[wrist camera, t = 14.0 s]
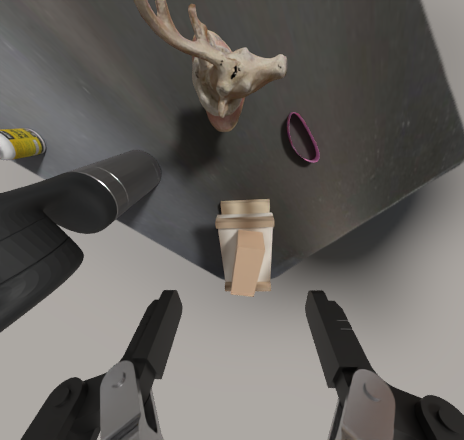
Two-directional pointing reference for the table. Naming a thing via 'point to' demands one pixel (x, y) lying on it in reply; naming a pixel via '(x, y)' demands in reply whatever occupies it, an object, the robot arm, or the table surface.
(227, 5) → the table surface
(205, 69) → the decorative bust
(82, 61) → the table surface
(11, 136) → the supplement bottle
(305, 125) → the headband
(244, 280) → the tan block
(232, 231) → the display stand
